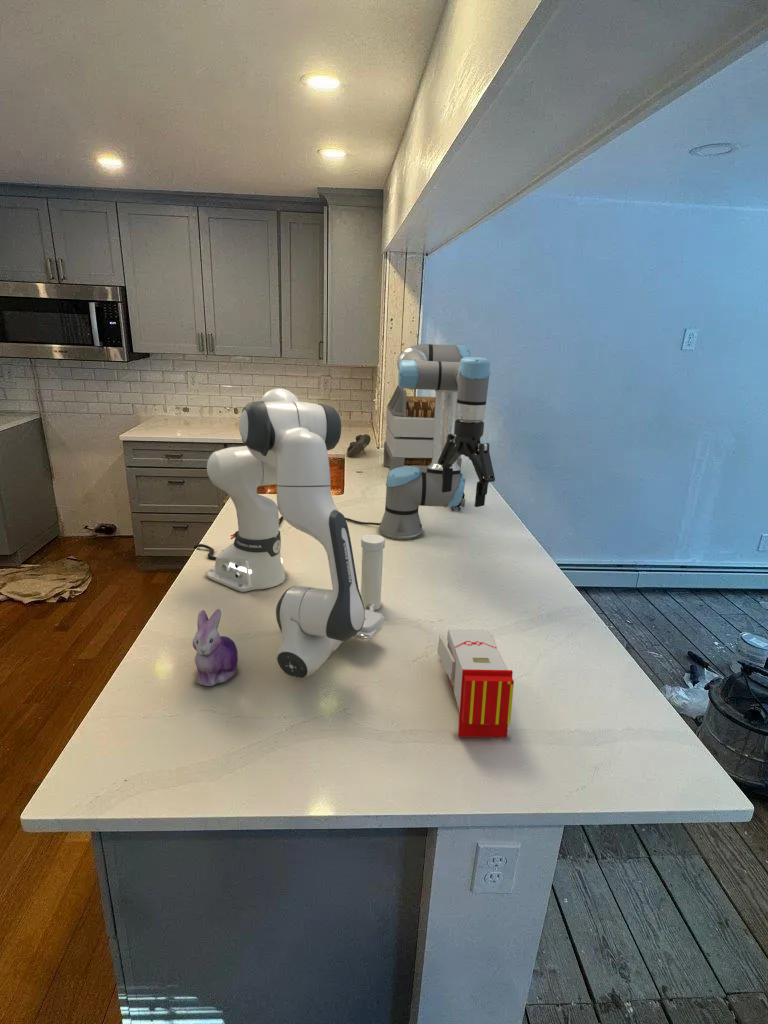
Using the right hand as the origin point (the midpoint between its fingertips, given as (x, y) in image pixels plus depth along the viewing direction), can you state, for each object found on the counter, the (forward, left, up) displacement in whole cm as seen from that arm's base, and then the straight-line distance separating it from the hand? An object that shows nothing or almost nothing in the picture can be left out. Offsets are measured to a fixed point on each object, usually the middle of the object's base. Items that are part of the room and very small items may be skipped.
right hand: (462, 498), depth 152 cm
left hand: (-3, -34, -21) cm, 40 cm away
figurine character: (-49, +54, -27) cm, 78 cm away
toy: (+33, -31, -27) cm, 53 cm away
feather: (-79, -7, -27) cm, 84 cm away
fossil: (-139, +75, -27) cm, 161 cm away
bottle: (-7, -25, -27) cm, 38 cm away
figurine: (-3, -70, -27) cm, 75 cm away
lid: (-7, -25, -9) cm, 27 cm away
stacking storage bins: (-93, +76, -27) cm, 123 cm away
